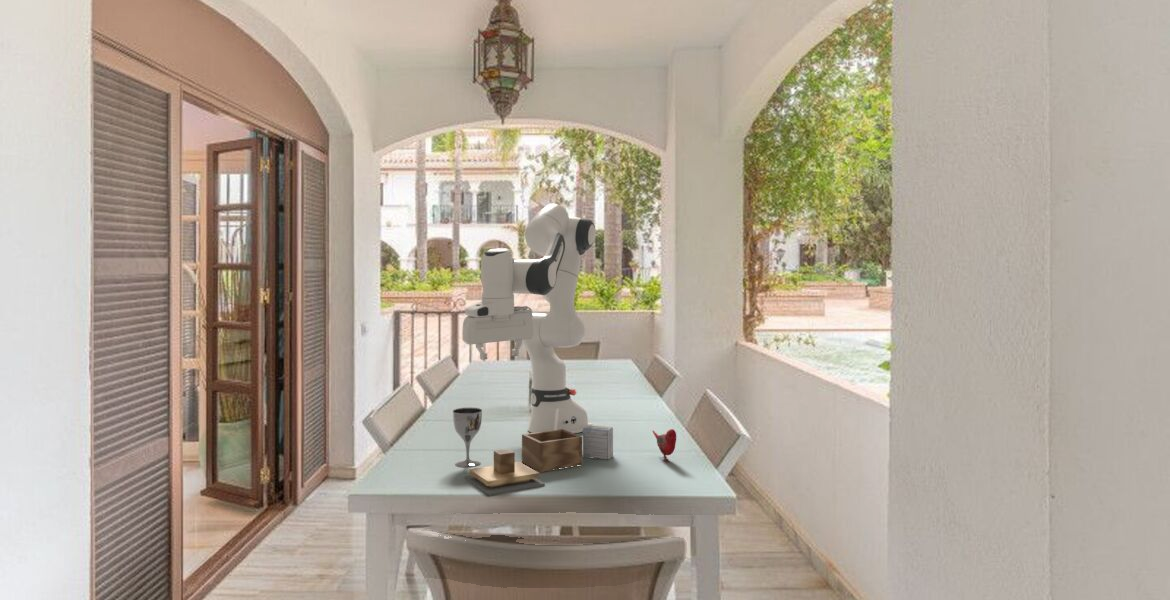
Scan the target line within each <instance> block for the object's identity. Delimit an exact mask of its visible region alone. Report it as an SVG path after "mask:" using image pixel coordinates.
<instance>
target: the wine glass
mask: <svg viewBox="0 0 1170 600" xmlns="http://www.w3.org/2000/svg"><path fill="white" fill-rule="evenodd" d="M452 421H453V426H454V431H455V432H456V433H457V435H458V436H459V438H461V439H462V441H463V442H464V445H465V451H466V452H465V454H466V457H465V460H460V461H457V462H455V463H454V466H455V467H458V468H463V469H464V468H469V469H470V468H477V467H478V466H480V465H481V464H482V463H481V461H478V460H474V459H473V460H471V459H470V448H471V443H472V441H473V439H474V438H475V437H476V435H477V434H478V433H479V432H480V430H481V425H482V421H483V410H482V408H479V407H460V408H455V409H453V410H452Z"/></svg>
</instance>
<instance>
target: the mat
mask: <svg viewBox="0 0 1170 600" xmlns="http://www.w3.org/2000/svg"><path fill="white" fill-rule="evenodd" d="M464 479H466V480H467V481H468V482H470V483H471V484H472V485H474V486H475V487H476V488H477V489H479V490H481V491H482V492H484V493H485V494H486V495H488V496H493V495H499V494H506V493H511V492H517V491H523V490H528V488H529V489H534V488H533V487H535V488H539V487H538V486H540V487H544V485H545V482H543V481H541V480H539V479H538V478H534V479H530V481H526V482H520V483H514V484H508V485H502V486H496V487H491V486H487V485H485V484H484V483H482V482H481V481H479V480H478V479H477V478H475V477H474V476H472V475H471V474H467V475H464ZM545 486H546V485H545Z"/></svg>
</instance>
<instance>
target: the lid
mask: <svg viewBox="0 0 1170 600" xmlns="http://www.w3.org/2000/svg"><path fill="white" fill-rule="evenodd" d="M515 457H516V456H515V451H513V450H511V449H510V448H506V449H505V448H504V449H499V450H498V449H497V450H493V465H488V466H480V467H473V468H469V475H472V476H474V477H475V478H477V479H478V480H479V481H481V482H482V483H484V484H485V485H487V486H491V487H496V486H502V485H508V484H514V483H520V482H526V481H530V479H534V478H536V479H538V478H540V473H539V472H538V471H536V470H534V469H532V468H530V467H529V466H527V465H525V464H523V463H522V461H515Z"/></svg>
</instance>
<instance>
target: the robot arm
mask: <svg viewBox="0 0 1170 600" xmlns="http://www.w3.org/2000/svg"><path fill="white" fill-rule="evenodd" d="M595 239H596V226H595V223H594V222H593V220H591V219H589V218H585V217H578V216H572V215H569V212H568V210H566V208H565V207H563V206H562V205H561V204H558V203H549V204H547V205H545V206H543V207H542V208H541V209H540V210H538V212H537V213H535V215H534V216H533V217H532V218H531V220H530V221H529V222H528V223H527V226H526V228H525V231H524V240H525V242H526V245H527V246H528V247H529V248H530V249H531V251H533V252H535V253H536V254H539V255H542V256H543V257H542V258H537V259H536V258H535V259H516V258H514V257H512V253H511V250H510V249H508V248H505V247H502V248H501V247H496V248H491V249H487V250H485V251H484V252H483V253H482V258H481V265H480V283H481V286H482V293H481V301H479V302H477V303H475V304H473V305H470V306H467V307H465V309H464V314H465V315H466V317H465V318H464V319H463V323H462V334H461V336H462V341H463V342H464V344H466V345H470V346H471V345H475V348H476V350H477V351H478V353H479V359H480V360H481V361H484V360H488V352H485V351H484V350H483V348H484V344H488V343H489V344H490V343H500V342H501V343H502V342H507V341H508V342H509V341H514V343H515V345H514V347H513V348H511V353H510V354H511V356H512V357H518V356H520V355H519V354H520V352H519V350H520V348H521V347H522V345H523V346H524V349H525V350H526V352H527V353H528V356H529V359H530V363H531V373H532V376H531V377H532V387H531V389H530V391H531V393H530V401H531V402H530V403H531V414H530V420H529V424H528V427H527V432H529V433H537V432H544V431H552V430H559V429H564V430H566V431H569V432H571V433H574V434H578V433H583V428H584V427H586V426H588V425H593V426H595V424H594V423H592V422H590V421H589V419H588V414H587V411H586V409H585V408H584V407H583V406H582V405H580V404H579V403H578V402H577V401H575V400H573V398H571V396H576V395H577V390H576V389H574V388H568V387H566V385H567V366H566V363H565V362H564V361H563V360H562V359H561V358H560V357H558V355H557V353H556V352H555V350H554V349H555V348H563V349H564V348H565V349H566V348H572V347H577V346H579V345H580V344H581V343H582V342H583V340H584V338H585V332H586V328H585V325H584V322H583V320H582V319H581V318H580V317H579V315H578V313H577V312H576V308H575V295H576V292H577V291H576V290H577V285H578V282H579V281H578V280H579V275H580V271H581V270H580V269H581V256H582V255H584V254H585V253H586V252H587V251H588V250H589V249H590V248H591V247H593V245H594V242H595ZM515 294H518V295H519V294H525V295H526V294H528V295H529V294H530V295H536V296H537V295H538V296H539V295H540V296H542V297H543V299H544V300H545V301H546V302H547V303H548V304H549V312H533V309H532V308H531V307H528V306H527V305H522V306H521V305H520V306H519V305H518V306H515Z"/></svg>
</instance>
